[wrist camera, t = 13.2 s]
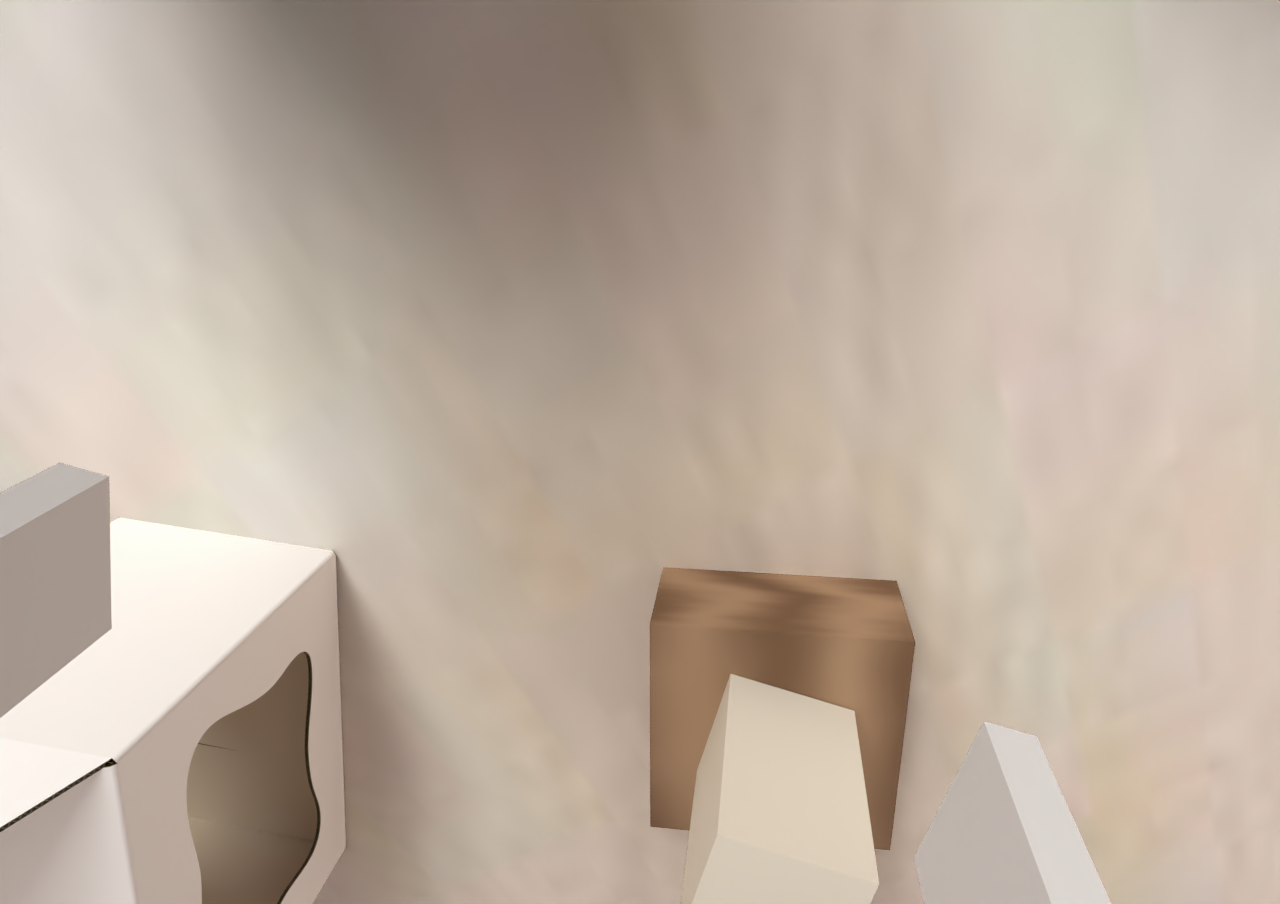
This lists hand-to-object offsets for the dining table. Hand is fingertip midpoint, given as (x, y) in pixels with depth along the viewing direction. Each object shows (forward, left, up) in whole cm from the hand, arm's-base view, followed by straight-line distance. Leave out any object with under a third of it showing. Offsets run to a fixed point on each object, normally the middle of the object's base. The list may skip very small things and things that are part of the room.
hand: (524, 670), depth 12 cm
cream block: (+10, -18, -24) cm, 31 cm away
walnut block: (+10, -18, -30) cm, 36 cm away
